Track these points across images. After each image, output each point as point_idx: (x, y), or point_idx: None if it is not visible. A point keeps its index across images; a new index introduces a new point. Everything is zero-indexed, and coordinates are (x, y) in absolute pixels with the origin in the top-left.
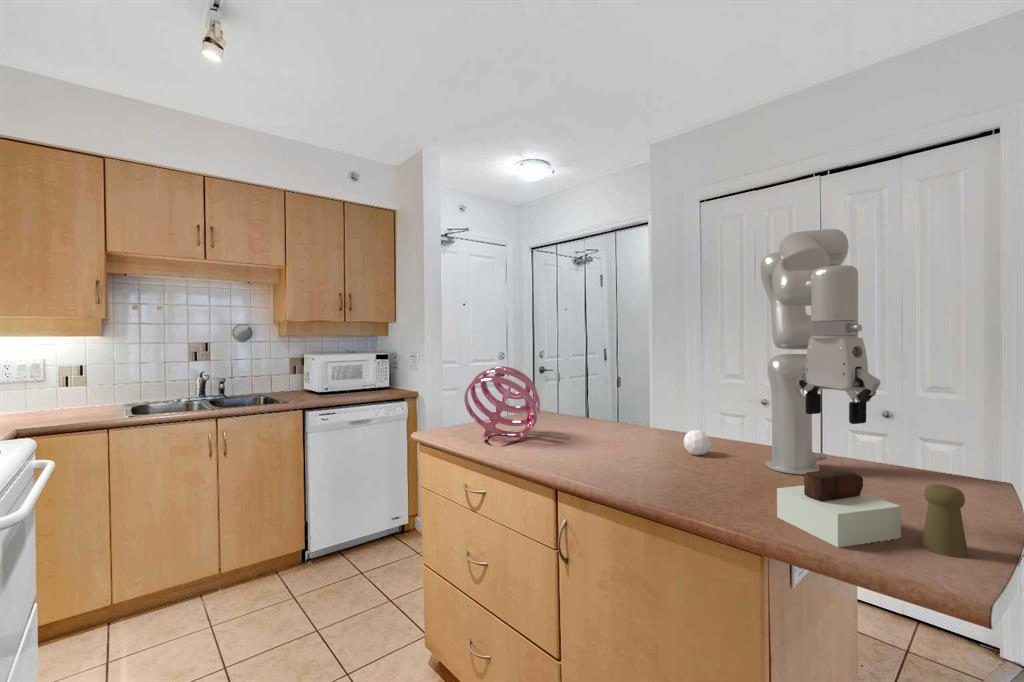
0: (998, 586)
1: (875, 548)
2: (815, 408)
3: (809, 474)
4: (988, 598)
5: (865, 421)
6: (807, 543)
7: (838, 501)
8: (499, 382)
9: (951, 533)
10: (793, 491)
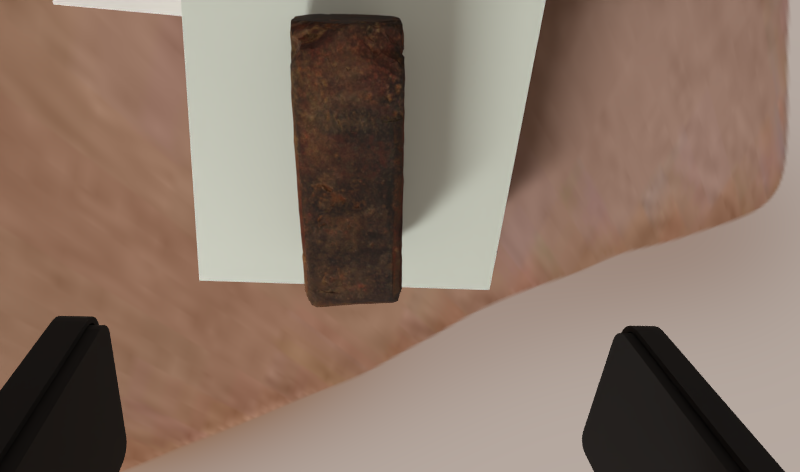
0: (783, 54)
1: None
2: (97, 427)
3: (334, 305)
4: (779, 146)
5: (655, 332)
6: (413, 287)
7: (404, 183)
8: None
9: None
10: (252, 250)
